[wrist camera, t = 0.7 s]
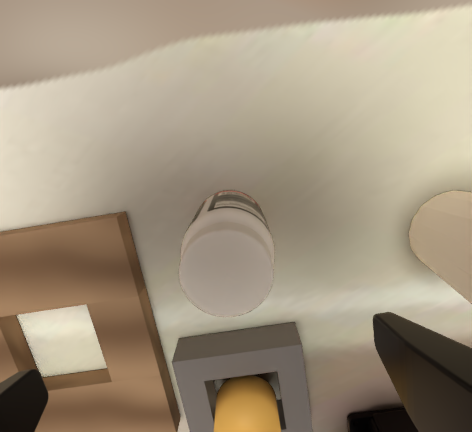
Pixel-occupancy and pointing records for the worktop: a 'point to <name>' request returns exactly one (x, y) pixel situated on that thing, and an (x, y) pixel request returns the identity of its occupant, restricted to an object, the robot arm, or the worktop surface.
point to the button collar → (242, 372)
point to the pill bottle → (227, 256)
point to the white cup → (446, 238)
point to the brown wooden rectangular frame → (104, 320)
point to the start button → (246, 406)
